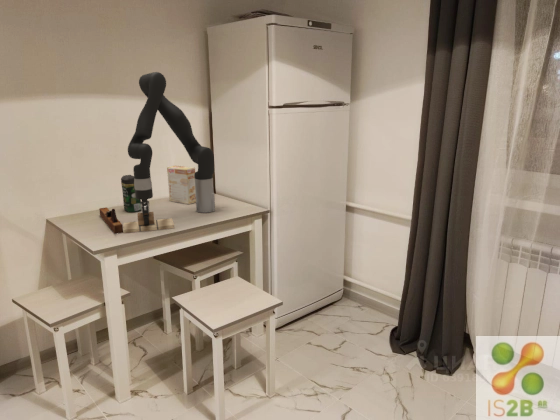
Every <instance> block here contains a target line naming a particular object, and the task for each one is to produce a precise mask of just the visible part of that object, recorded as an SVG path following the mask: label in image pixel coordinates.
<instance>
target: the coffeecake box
mask: <svg viewBox="0 0 560 420" xmlns="http://www.w3.org/2000/svg"><path fill="white" fill-rule="evenodd" d="M166 169H167V171H166V172H167V183H168V194H169V195H168V197H169V198H168V199H169V202H174V203H179V204H185V205H190V204H194V203H195V204H196V194H195V177H194V174H195V172H196V168H195V167H190V166H184V165H183V166H181V165H171V166H166Z"/></svg>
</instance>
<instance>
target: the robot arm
mask: <svg viewBox="0 0 560 420" xmlns="http://www.w3.org/2000/svg"><path fill="white" fill-rule="evenodd" d="M138 84H139V88H140V90H141V92H142V93H143V94H144V95H145V97H146V101H145V104H144V106H143V108H142V110H141V111H140V113H139V116H138V117H137V118H138V119H137V122H136V127H135V132H134V134H133V135H132V137H131V139H130V141H129V142H128V143H129V144H128V146H127V154H128V157H129V158H131V159H134V160H140V162H139V163H137V164H135V165H133V169H132V170H133V176H134V187H135V197H136V199H139V200H140V199H141V202H140V206H141V210H140V212H141V213H143V218H144V226H149V212H150V200H149V199H153V197H154V193H153V183H152V178H151V177H152V176H151V164H152V158H153V148H152V147H151V145H150V144H149V143H146V142H145V141H147V140H150V139H151V138H152V135H153V130H154V125H155V120H156V116H157V114H158V112H159V114H160V115H161V116H162V118H163V119H164V121H165V122H166V124H167V125H168V127H169V129H171V131H172V132H173V133H174V134H175V136H176V138H177V139H178V140H179V141H180V143H181V144H182V145H183V147H184V149H185V150H186V151H185V152H187V154H188V156H189V158H190V160H191V161H192V162H193V163H194V164H196V165H197V171H195V174H194V177H195V194H196V202H195V208H196V212H197V213H201V214H202V213H203V214H204V213H206V214H207V213H211V212H216V201H215V199H216V198H215V191H214V178H213V177H214V173H215V154H214V152H213V150H212V149H211V148H210V147H208V146H202V145H201V144H200V142H199V141H198V140H197V138H196V136H195V135H194V132H193V128H192V125H191V122H190V120H189V119H188V117H187V116H186V114H185V112H184V111H183V110H182V109H181V108H179V107H178V106H177V105H176V104H175V103H173V102H171V100H169V99H168V98H167V97H166V96H165V91H166V87H167V80H166V77H165V75H164V74H162V73H161V72H159V71H155V72H150V73H145V74H143V75H141V76H140V77H139V79H138ZM144 142H145V143H144ZM144 213H147V214H148V215H144Z"/></svg>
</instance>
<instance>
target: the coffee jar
mask: <svg viewBox="0 0 560 420" xmlns="http://www.w3.org/2000/svg"><path fill="white" fill-rule="evenodd" d="M120 182H121V183H120V184H121V190H122V199H123V209H124V210H125V211H126V212H128V213H139V212H141V206H140V202H142V200H141V199H140V200H139V199H136V197H135V187H134V175H131V174H127V175H126V174H125V175H123V176H122V177H121V178H120Z"/></svg>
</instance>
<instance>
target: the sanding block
mask: <svg viewBox="0 0 560 420" xmlns="http://www.w3.org/2000/svg"><path fill="white" fill-rule="evenodd" d="M144 215H148V214H147V213H144ZM154 220H155V213H154V211H149V225H155V224H154ZM137 222H138V225H139V226H144V218H143V213H142V212H137Z"/></svg>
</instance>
